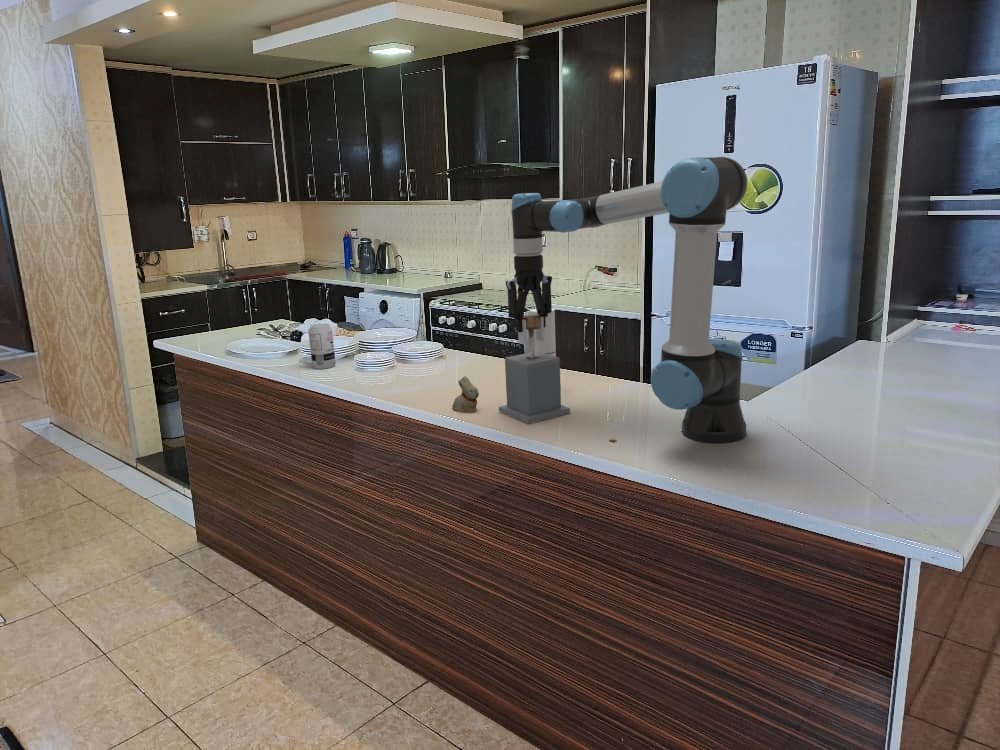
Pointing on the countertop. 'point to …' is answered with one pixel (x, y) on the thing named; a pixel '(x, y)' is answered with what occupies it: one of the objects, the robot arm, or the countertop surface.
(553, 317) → the cylindrical container
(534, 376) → the block
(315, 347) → the supplement can
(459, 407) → the chocolate bunny
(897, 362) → the countertop surface
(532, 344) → the plunger
